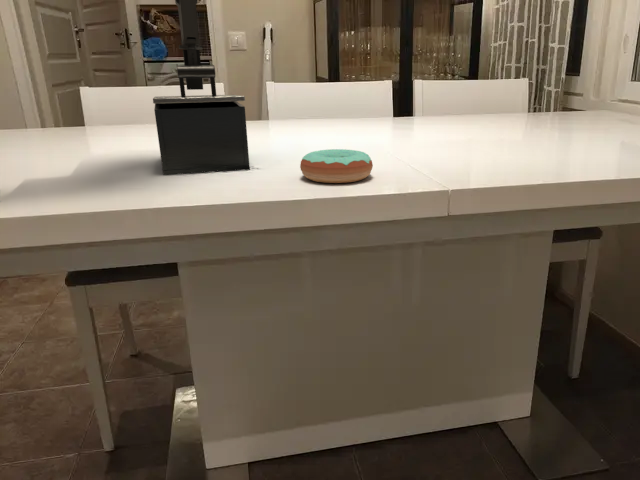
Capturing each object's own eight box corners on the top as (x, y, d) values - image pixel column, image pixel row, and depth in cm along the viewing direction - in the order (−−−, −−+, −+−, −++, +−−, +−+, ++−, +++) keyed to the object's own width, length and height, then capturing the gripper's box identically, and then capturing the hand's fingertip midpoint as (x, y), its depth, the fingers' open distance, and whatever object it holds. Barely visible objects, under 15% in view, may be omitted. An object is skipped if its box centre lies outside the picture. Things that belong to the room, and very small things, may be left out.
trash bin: (249, 169, 99) (244, 106, 95) (163, 175, 95) (154, 109, 91) (238, 154, 114) (233, 99, 110) (162, 158, 109) (155, 101, 105)
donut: (387, 179, 91) (387, 155, 89) (323, 189, 85) (323, 162, 83) (347, 167, 100) (347, 145, 99) (288, 175, 94) (286, 151, 92)
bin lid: (245, 101, 94) (242, 64, 92) (153, 103, 89) (148, 65, 87) (233, 98, 110) (230, 67, 108) (155, 101, 105) (150, 68, 103)
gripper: (206, -71, 85) (220, 91, 94) (201, -57, 96) (213, 87, 105) (154, -75, 83) (173, 92, 91) (155, -60, 94) (172, 87, 103)
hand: (195, 89), depth 98 cm, fingers closed
